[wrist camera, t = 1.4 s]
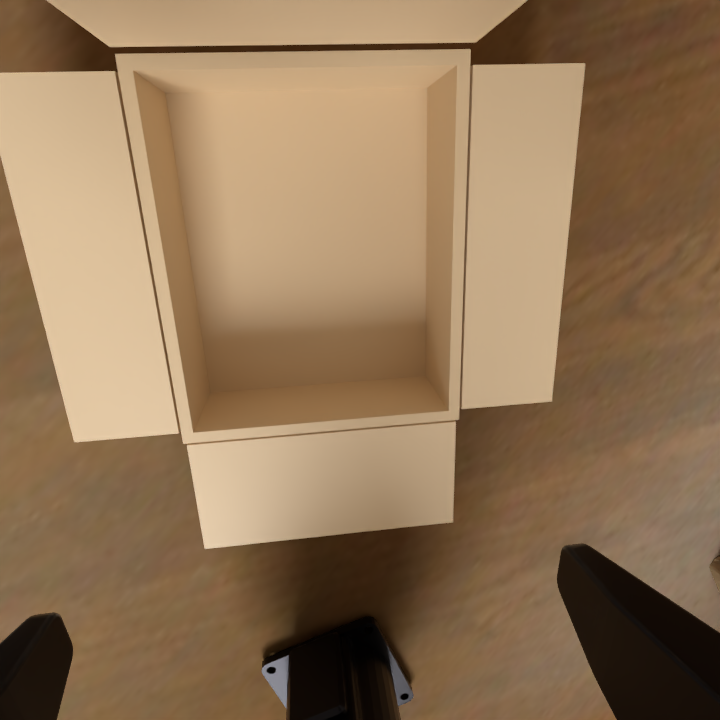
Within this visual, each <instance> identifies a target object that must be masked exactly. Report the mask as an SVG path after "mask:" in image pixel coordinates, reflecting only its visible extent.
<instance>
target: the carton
mask: <svg viewBox="0 0 720 720" xmlns="http://www.w3.org/2000/svg"><path fill="white" fill-rule="evenodd" d="M115 58H116V64H117V69H118V73H117V72H115V71H85V72H25V73H0V155H1V159H2V163H3V167H4V171H5V175H6V179H7V183H8V187H9V190H10V194H11V198H12V202H13V206H14V210H15V214H16V218H17V222H18V225H19V229H20V233H21V237H22V241H23V245H24V249H25V253H26V257H27V260H28V264H29V268H30V272H31V276H32V280H33V284H34V288H35V291H36V295H37V299H38V303H39V307H40V311H41V315H42V319H43V323H44V326H45V330H46V334H47V338H48V342H49V346H50V350H51V354H52V358H53V361H54V365H55V369H56V373H57V377H58V381H59V385H60V389H61V393H62V396H63V400H64V404H65V408H66V412H67V416H68V420H69V424H70V427H71V431H72V435H73V439H74V442H83V441H95V440H107V439H118V438H130V437H142V436H154V435H165V434H177V433H179V432H180V430H181V434H182V440H183V444H187V443H188V444H187V449H188V455H189V461H190V466H191V472H192V478H193V484H194V490H195V495H196V501H197V507H198V513H199V519H200V524H201V530H202V536H203V542H204V547H205V549H209V548H218V547H228V546H237V545H246V544H255V543H265V542H274V541H283V540H292V539H302V538H311V537H320V536H330V535H339V534H348V533H357V532H367V531H376V530H385V529H394V528H404V527H413V526H422V525H432V524H441V523H450V522H453V504H454V471H455V437H456V421H455V420H459V406H460V408H461V409H470V408H481V407H493V406H505V405H516V404H528V403H540V402H552V394H553V384H554V374H555V364H556V354H557V344H558V334H559V323H560V313H561V303H562V293H563V283H564V273H565V263H566V253H567V243H568V233H569V223H570V213H571V203H572V193H573V183H574V172H575V162H576V152H577V142H578V132H579V122H580V112H581V102H582V92H583V82H584V72H585V63H563V64H504V65H472V66H471V67H470V62H471V49H439V50H365V51H291V52H217V53H143V54H115Z"/></svg>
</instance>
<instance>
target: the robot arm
mask: <svg viewBox="0 0 720 720" xmlns="http://www.w3.org/2000/svg"><path fill="white" fill-rule="evenodd" d="M557 584H558V588H559V591H560V594H561V596H562V599H563V601H564V604H565V606H566V609H567V611H568V613H569V616H570V618H571V621H572V623H573V626H574V628H575V631H576V633H577V636H578V638H579V641H580V643H581V645H582V648H583V650H584V653H585V655H586V658H587V660H588V663H589V665H590V667H591V669H592V672H593V674H594V676H595V678H596V680H597V682H598V684H599V686H600V688H601V690H602V692H603V694H604V696H605V698H606V700H607V702H608V704H609V706H610V707H611V709H612V711H613V713H614V715H615V717H616V719H617V720H720V633H719V632H718V631H716V630H715V629H713V628H712V627H710V626H709V625H707V624H706V623H704V622H703V621H701V620H700V619H698V618H697V617H695V616H694V615H692V614H691V613H689V612H688V611H686V610H685V609H683V608H682V607H680V606H679V605H677V604H676V603H674V602H673V601H671V600H670V599H668V598H667V597H665V596H664V595H662V594H661V593H659V592H658V591H656V590H655V589H653V588H652V587H650V586H649V585H647V584H646V583H644V582H643V581H641V580H640V579H638V578H637V577H635V576H634V575H632V574H631V573H629V572H628V571H626V570H625V569H623V568H622V567H620V566H619V565H617V564H616V563H614V562H613V561H611V560H610V559H608V558H607V557H605V556H604V555H602V554H601V553H599V552H598V551H596V550H595V549H593V548H592V547H590V546H588V545H586V544H573V545H566V546H564V547H563V548H562V550H561V555H560V561H559V568H558V574H557ZM366 627H369V628H366ZM72 656H73V646H72V642H71V639H70V637H69V635H68V632H67V630H66V627H65V625H64V623H63V620H62V618H61V616H60V615H59V614H58V613H54V612H53V613H46V614H38V615H33V616H31V617H29V618H28V619H27V620H25V621H24V622H23V623H22V624H21V625H20V626H19V627H18V628H17V629H15V630H14V631H13V632H12V633H11V634H10V635H9V636H8V637H7V638H6V639H5V640H3V641H2V642H1V643H0V720H57V717H58V713H59V709H60V705H61V701H62V697H63V693H64V689H65V685H66V681H67V677H68V673H69V669H70V665H71V661H72ZM262 674H263V675H264V677H265V678H266V680H267V681H268V682H269V684H270V685H271V687H272V688H273V690H274V691H275V693H276V694H277V696H278V697H279V698H280V700H281V701H282V703H283V704H284V706H285V707H286V709H287V712H286V720H401V718H400V713H399V708H398V706H400V705H402V704H405V703H407V702H409V701H411V700H412V698H413V692H412V687H411V685H410V683H409V681H408V679H407V677H406V676H405V674H404V672H403V670H402V668H401V666H400V664H399V663H398V661H397V659H396V657H395V655H394V653H393V651H392V649H391V648H390V646H389V644H388V642H387V640H386V638H385V636H384V634H383V633H382V631H381V629H380V627H379V625H378V623H377V621H376V620H375V619H374V618H372V617H364V618H362V619H359V620H357V621H354V622H352V623H350V624H347V625H345V626H342V627H340V628H337V629H335V630H333V631H330V632H328V633H325V634H323V635H320V636H318V637H316V638H313V639H311V640H308V641H306V642H303V643H301V644H299V645H296V646H294V647H291V648H289V649H287V650H284V651H282V652H279V653H277V654H274V655H272V656H270V657H267V658H266V659H264V661H263V663H262Z"/></svg>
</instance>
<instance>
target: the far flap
mask: <svg viewBox="0 0 720 720" xmlns="http://www.w3.org/2000/svg"><path fill="white" fill-rule="evenodd" d="M47 1H48V2H49V3H51V4H52V5H53V6H55V7H56V8H57V9H59V10H60V11H61V12H63V13H64V14H66V15H67V16H68V17H70V18H71V19H72V20H74V21H75V22H76V23H78V24H79V25H80V26H82V27H83V28H85V29H86V30H87V31H89V32H90V33H91V34H93V35H94V36H95V37H97V38H98V39H99V40H101V41H102V42H104V43H105V44H106V45H108V46H109V47H152V46H234V45H316V44H398V43H476V42H477V41H478V40H479V39H481V38H482V37H483V36H484V35H486V34H487V33H488V32H489V31H491V30H492V29H493V28H494V27H495V26H497V25H498V24H499V23H500V22H502V21H503V20H504V19H505V18H507V17H508V16H509V15H510V14H511V13H513V12H514V11H515V10H516V9H518V8H519V7H520V6H521V5H523V4H524V3H525V2H526V1H528V0H47Z"/></svg>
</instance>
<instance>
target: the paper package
mask: <svg viewBox="0 0 720 720" xmlns="http://www.w3.org/2000/svg"><path fill="white" fill-rule="evenodd" d="M710 570H711V573H712V575H713V578H714V580H715V583H716V585H717V588H718V590H719V593H720V556H719V557H717V558H715V559H714V560H713V562H712V563H711V564H710Z"/></svg>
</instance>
